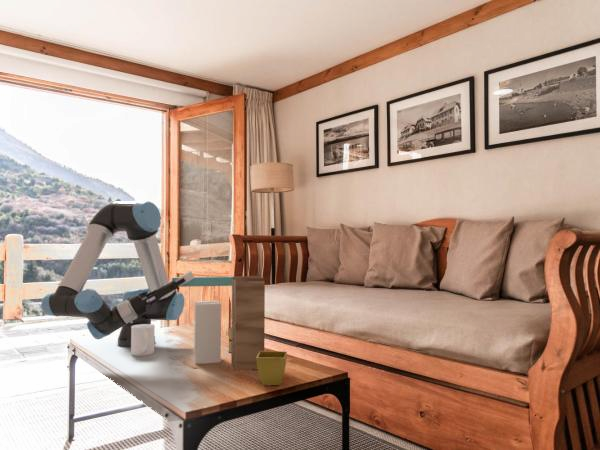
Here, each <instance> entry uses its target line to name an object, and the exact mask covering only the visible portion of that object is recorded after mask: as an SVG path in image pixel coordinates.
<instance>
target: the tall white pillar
mask: <svg viewBox="0 0 600 450" xmlns="http://www.w3.org/2000/svg"><path fill="white" fill-rule="evenodd" d="M193 320H194V326H193V328H194V331H193V332H194V333H193V336H194V337H193V360H194V364H195V365H199V364H200V365H201V364H215V363H221V358H222V355H221V354H222V353H221V351H222V349H221V346H222V338H221V337H222V303H221V302H220V301H219V300H207V301H206V300H204V301H203V300H202V301H198V300H197V301H194V319H193Z"/></svg>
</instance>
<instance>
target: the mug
mask: <svg viewBox="0 0 600 450" xmlns="http://www.w3.org/2000/svg"><path fill="white" fill-rule="evenodd" d="M154 336H155V324H152V323H151V324H139V325H134V326H132V327H131V347H130V350H131V351H130V352H131V355H132V356H135V357H136V356H137V357H142V356H143V357H144V356H149V355H153V354H154V352H155V342H154Z"/></svg>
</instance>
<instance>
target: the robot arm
mask: <svg viewBox="0 0 600 450" xmlns="http://www.w3.org/2000/svg"><path fill="white" fill-rule="evenodd" d="M161 219H162V216H161V213H160V209H159V207H157V205H156V204H155V203H154V202H151V201H148V200H134V201H133V200H132V201H131V200H130V201H129V200H128V201H120V200H119V201H118V200H117V201H112V202H110V203H108V204H106V205H104V206H103V207H102V208H101V209H99V210H98V212H96V214H95V215H94V216H93V218H92V219H91V220H90V222H89V223H88V226H87V228H86V230H87V233H86V235H85V237H84V238H83V241H81V244H80V246H79V248H78V249H77V251H76V253H75V255H74V257H73V259H72V261H71V262H70V264H69V266H68V268H67V270H66V271H65V273H64V275H63V277H62V279H61V281H60V282H59V285H58V286H57V288H56V289H55V291H54V292H52V293H48V294H46V295H45V296H44V297H43V298H42V300H41V310H42V313H44V314H45V315H47V316H51V317H52V316H53V317H71V318H72V317H74V318H86V319H87V320H88V321H87V322H86V326H87V329H88V331H89V332H90V334H91V336H92V337H93V338H94V339H95V340H100V339H104V338H105V337H107V336H110V335H111V334H112V333H114V332H116V331H118V330H120V332H119V335H118V337H117V345H118V346H120V347H129V348H131V327H132V326H134V325H139V324H152V320H154V321H155V320H157V321H167V322H168V321H176V320H178V319H179V318H180V317H181V315H182V313H183V312H184V308H185V296H184V294H183V293H182V292H179V291H178V290H180V288H181V287H180V286H182V285H183V284H185V283H187V282H189V281H190V280H192V279H194V278H195V277H196V276H194V275H195V274H194V273H193V272H192V271H191V270H190V271H188V272H186V273H184V274H183V275H181V276H179V277H180V278H178V279H177V280H175V281H174V282H172V280H171V281H170V279H169V277H168V276H169V275H168V274H167V270H166V266H165V263H164V259H163V257H162V253H161V249H160V246H159V243H158V239H157V236H156V235H157V234H158V232H159V228H160V226H161V223H162V221H161ZM117 232H118V233H119V232H125V233H126V236H127V239H128V240H129V241H131V242H133V245H134V247H135V250H136V254H137V257H138V260H139V263H140V266H141V268H142V272H143V275H144V279H145V282H146V284H147V288H139V289H131V290H126V291H125V292H124V293H123V294H122V302H119V303H117V305H115V306H113V307H110V306H109V305H108V303H107V302H106V301H105V300H104V298H103V296H102V295H101V294H99V293H98V292H97V291H96V290H95V289H93V288H86V289H85V290H84V287H85V285H86V283H87V281H88V280H89V278H90V276H91V274H92V272H93V270H94V268H95V266H96V264H97V262H98V261H99V258H100V256H101V254H102V252H103V250H104V248H105V246H106V245H107V242H108V241H110V240H112V238H113V237H114V235H115V234H116V233H117ZM177 291H178V292H177ZM155 338H156V336H155V335H154V343H155V342H156V339H155Z"/></svg>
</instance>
